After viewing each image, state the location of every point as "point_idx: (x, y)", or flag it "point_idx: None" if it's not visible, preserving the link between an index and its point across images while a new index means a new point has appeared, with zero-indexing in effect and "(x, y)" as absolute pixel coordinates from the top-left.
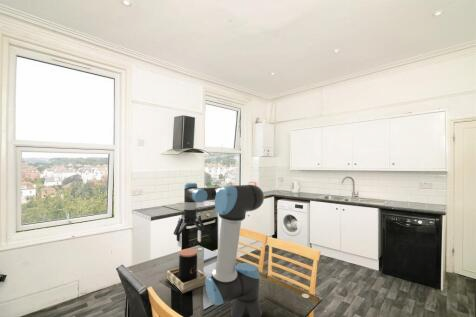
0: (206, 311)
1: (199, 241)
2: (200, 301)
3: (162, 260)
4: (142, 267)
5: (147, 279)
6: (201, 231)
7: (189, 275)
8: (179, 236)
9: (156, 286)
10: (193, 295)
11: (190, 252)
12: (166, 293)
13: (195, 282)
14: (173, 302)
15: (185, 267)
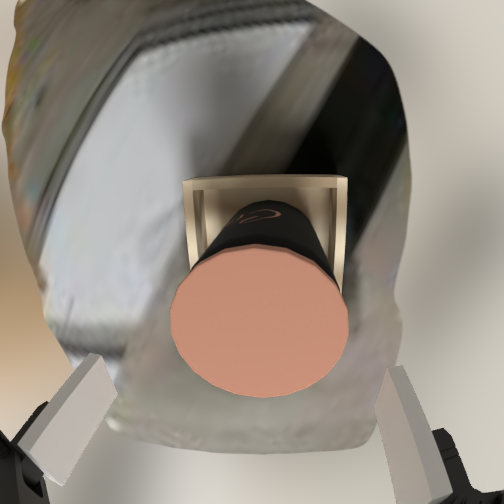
0: (311, 8)
1: (102, 365)
2: (298, 68)
3: (263, 441)
4: (343, 433)
5: (382, 364)
6: (20, 441)
7: (286, 211)
8: (442, 487)
9: (390, 300)
10: (302, 125)
11: (247, 313)
12: (389, 223)
13: (261, 176)
14: (397, 140)
15: (314, 240)
